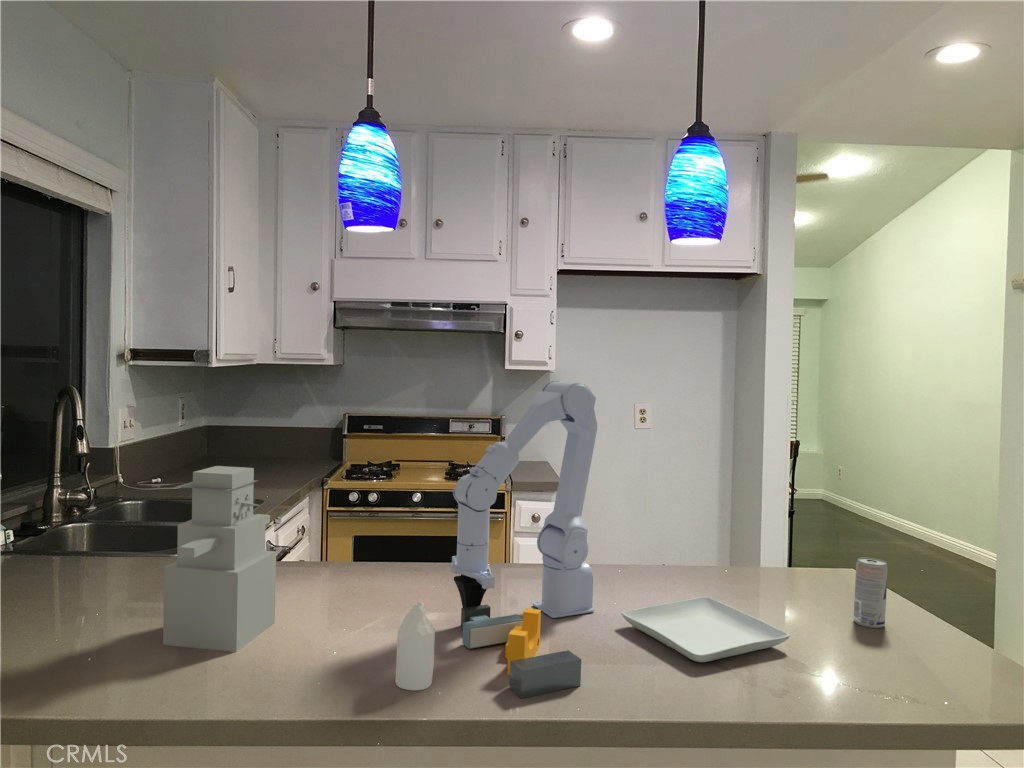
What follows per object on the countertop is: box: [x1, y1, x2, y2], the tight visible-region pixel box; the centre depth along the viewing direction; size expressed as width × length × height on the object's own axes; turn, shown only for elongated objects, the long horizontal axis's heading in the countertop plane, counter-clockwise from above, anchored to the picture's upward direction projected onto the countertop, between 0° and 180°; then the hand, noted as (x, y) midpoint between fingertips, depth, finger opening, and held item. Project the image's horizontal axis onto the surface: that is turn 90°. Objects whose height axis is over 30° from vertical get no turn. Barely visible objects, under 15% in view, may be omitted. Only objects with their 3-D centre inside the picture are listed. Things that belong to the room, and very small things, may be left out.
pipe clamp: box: [504, 607, 542, 676], centre depth 116 cm, size 12×4×6 cm, turn 166°
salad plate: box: [620, 595, 791, 663], centre depth 127 cm, size 21×21×3 cm
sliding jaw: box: [460, 604, 523, 650], centre depth 125 cm, size 10×10×4 cm
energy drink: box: [853, 557, 889, 629], centre depth 137 cm, size 5×5×12 cm
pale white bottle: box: [395, 601, 436, 691], centre depth 107 cm, size 6×12×6 cm
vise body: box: [509, 650, 582, 699], centre depth 107 cm, size 10×4×4 cm, turn 117°
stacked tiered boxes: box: [162, 465, 277, 653], centre depth 122 cm, size 13×24×28 cm, turn 171°
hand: (470, 616), depth 130 cm, fingers closed
